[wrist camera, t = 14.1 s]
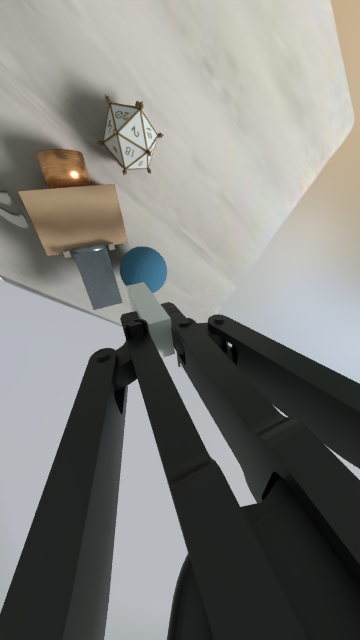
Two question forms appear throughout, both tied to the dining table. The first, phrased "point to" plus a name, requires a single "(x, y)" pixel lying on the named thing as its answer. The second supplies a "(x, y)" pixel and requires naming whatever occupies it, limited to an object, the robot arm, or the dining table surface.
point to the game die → (129, 136)
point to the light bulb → (143, 268)
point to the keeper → (97, 275)
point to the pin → (63, 168)
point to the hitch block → (75, 217)
